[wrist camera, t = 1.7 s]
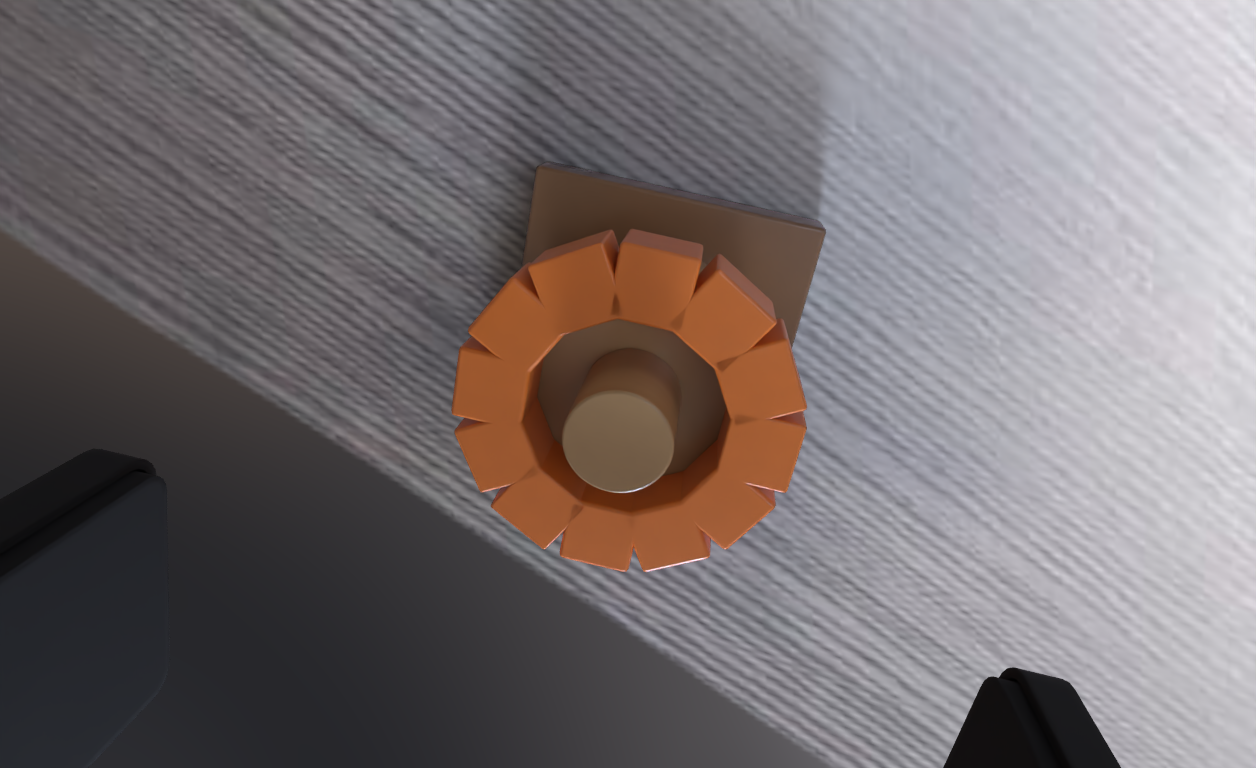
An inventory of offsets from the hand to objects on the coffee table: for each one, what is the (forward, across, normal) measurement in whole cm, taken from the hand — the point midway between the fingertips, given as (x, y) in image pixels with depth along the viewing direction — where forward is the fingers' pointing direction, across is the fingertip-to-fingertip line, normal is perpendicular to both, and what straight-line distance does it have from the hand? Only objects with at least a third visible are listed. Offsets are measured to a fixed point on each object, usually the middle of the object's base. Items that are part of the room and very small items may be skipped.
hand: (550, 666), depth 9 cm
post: (+13, 0, 0) cm, 13 cm away
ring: (+8, 0, 0) cm, 8 cm away
